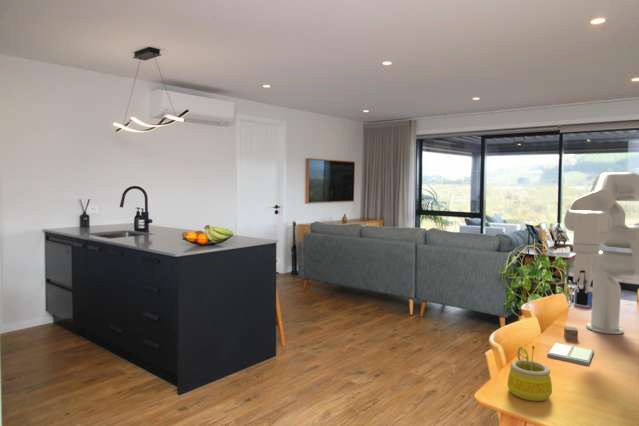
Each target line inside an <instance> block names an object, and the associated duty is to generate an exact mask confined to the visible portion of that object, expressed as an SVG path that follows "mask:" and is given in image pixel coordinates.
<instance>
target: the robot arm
mask: <svg viewBox="0 0 639 426" xmlns="http://www.w3.org/2000/svg"><path fill="white" fill-rule="evenodd" d="M619 202H639V174H638V173H635V172H631V171H630V172H629V171H624V172H623V171H622V172H620V171H619V172H614V171H612V172H611V171H609V172H603V173H600V174H599V175H597V176H596V178H595V180H594V182H593V184H592V187H591V188H590V190H589V193H587V194H584V195H582V196H580V197H577V198H575V199H574V200H573V201H572V202H571V203H569V205H568V209H567V210H566V213H565V215H564V219H563V220H564V221H563V223H564V227H565V228H566V229H567V230H568V231H571V232H573V240H572V241H573V244H572V253H573V254H575V257H574V266H573V275H572V276H573V277H572V282H573V283H575V284H577V281H578V284H577V285H578V287H577V296H576V304H580V305H587V303H588V293H587V288H588V284H590V283H591V284H592V289H593V299H592V310H591V317H590V322H587V323H586V325H585V326H586V328H587V329H588V330H590V331H593V332H597V333H602V334H606V335H607V334H608V335H621V334H623V333H624V328H623V327H621V326H620V317H621V316H620V311H621V295H622V294H621V293H622V291H621V290H622V287H621V285H620V282H619V281H618V280H617V279H616V278H615V277H623V278H628V279H629V278H631V279H638V278H639V225H632V224H626V211H625V209H624V208H623V207H622V205H621V204H619ZM600 246H602V247H604V248H607V249H608V248H610V249H619V250H620V249H621V250H629V251H631V252H626V251H625V252H623V251H617V250H616V251H615V250H600ZM584 282H586V283H584Z"/></svg>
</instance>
